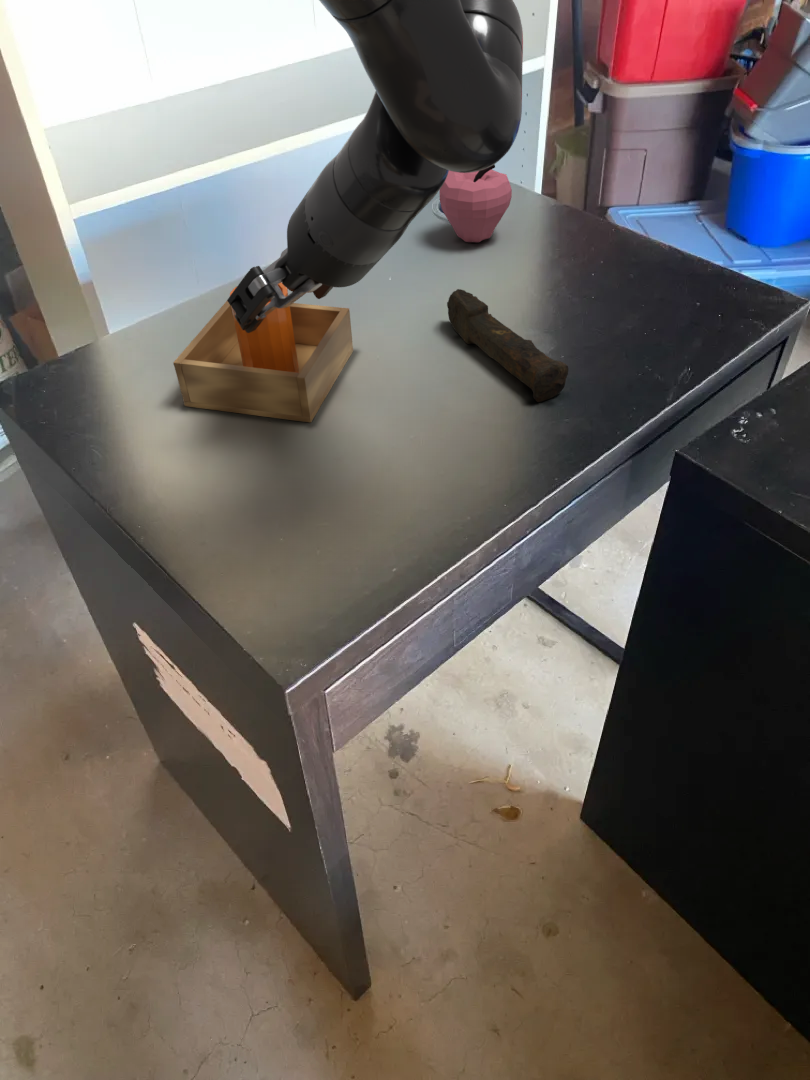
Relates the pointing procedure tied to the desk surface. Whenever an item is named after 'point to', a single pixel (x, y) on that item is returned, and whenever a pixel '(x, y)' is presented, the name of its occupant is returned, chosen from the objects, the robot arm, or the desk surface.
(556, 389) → the dark brown long bar
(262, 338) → the orange cup
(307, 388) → the wooden tray
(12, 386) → the desk surface
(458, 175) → the apple
